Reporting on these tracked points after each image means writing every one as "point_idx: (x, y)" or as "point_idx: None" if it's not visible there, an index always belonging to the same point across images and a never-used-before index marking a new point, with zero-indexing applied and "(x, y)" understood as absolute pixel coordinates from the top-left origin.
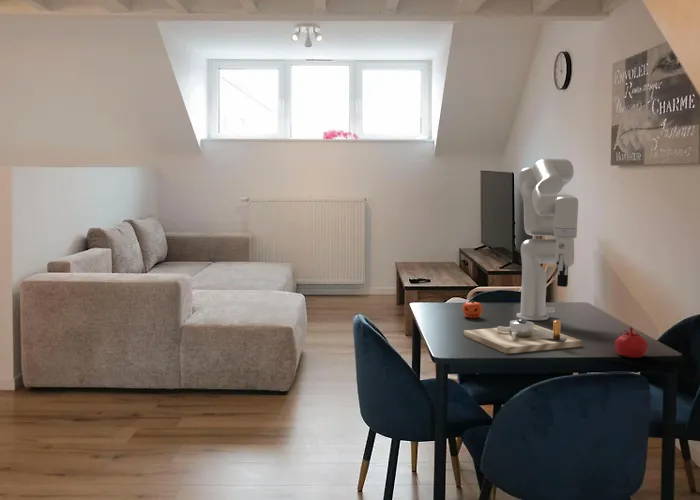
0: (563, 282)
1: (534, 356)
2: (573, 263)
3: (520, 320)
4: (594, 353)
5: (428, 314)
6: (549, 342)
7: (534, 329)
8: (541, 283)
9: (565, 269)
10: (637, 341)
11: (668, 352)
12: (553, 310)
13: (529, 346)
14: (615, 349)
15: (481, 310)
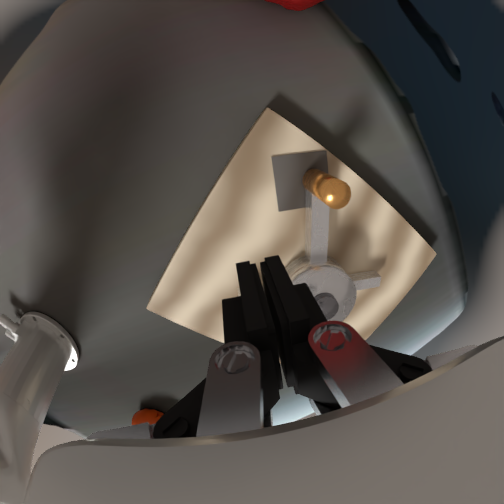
0: (308, 293)
1: (427, 190)
2: (82, 450)
3: (338, 307)
4: (326, 61)
5: None
6: (354, 187)
7: (312, 260)
8: (11, 390)
9: (389, 379)
10: None
11: None
12: (4, 317)
13: (404, 219)
14: (306, 8)
15: (145, 417)
